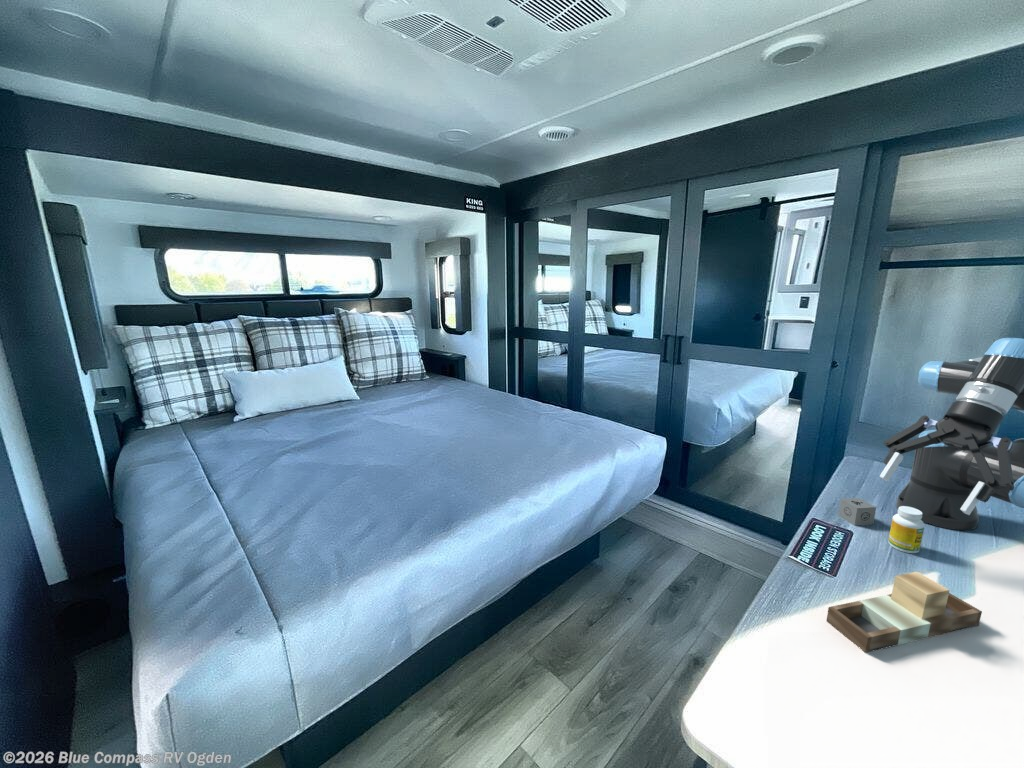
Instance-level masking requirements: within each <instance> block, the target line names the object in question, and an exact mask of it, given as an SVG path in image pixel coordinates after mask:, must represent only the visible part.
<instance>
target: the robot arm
mask: <svg viewBox="0 0 1024 768" xmlns="http://www.w3.org/2000/svg"><path fill="white" fill-rule="evenodd" d="M917 381H918V384H919V386H920V387H921V388H923V389H924V390H927V391H933V392H935V393H943V394H948V395H954V396H956V398H955V399H956V401H953V402H952V403H951V405H950V406H949V408H947V409H948V410H947V411H946V413H945V414H944V416H943V418H942V419H940V420H939V421H938V420H934V419H932V418H929V416H927V415H924V414H923V415H921V416H920V417H919V419H918V420H917V421H916V422H915V423H913V424H912V425H909V426H908V427H906V428H905V429H903V430H901V431H899V432H897V433H895V434H894V435H892V436H891V437H889V438H887V439H885V440H883V443H882V444H883V445H884V446H885V447H886V448H887V449H889V452H888V454H887V455H886V457H885V458H884V460H883V464H885V467H884V468H883V470H882V471H881V473H880V475H879V478H881V479H882V480H883V481H886V482H887V483H889V481H890V479H891V477H892V476H893V475H894V473H895V472H896V470H897V469H898V468H899V465H900V464H901V462H902V461H903V459H904V456H903V454H905V453H910V452H913V451H914V457H913V462H912V467H911V472H910V473H911V474H910V476H909V477H910V478H909V481H908V483H907V484H906V485H905V486H904V488H903V489H902V491H901V492H900V493H899V495H898V496H897V498H896V504H895V506H896V508H897V509H898V508H899V507H900V506H908V507H912V508H915V509H918V510H920V511H921V512H922V513H923V514H922V518H921V519H920V520H922V521H923V523H924V524H928V523H929V524H928V525H931V524H932V526H935V527H939V528H945V529H949V530H959V531H960V530H961V531H970V530H974V529H976V528H977V527H978V524H979V520H980V519H979V518H980V517H979V513H978V509H977V505H978V503H979V501H981V502H982V503H987V502H988V501H989V500H990V498H991V497H992V498H994V499H999V500H1000V501H1004V502H1007V503H1010V504H1012V505H1014V506H1016V507H1018V508H1022V509H1024V438H1023V437H1022V438H1018V439H1015V440H1013V441H1012V440H1011V438H1009V437H1006V436H1004V437H995V436H994V433H995V432H996V430H997V428H998V427H999V426H1000V424H1001V423H1002V421H1003V420H1004V415H1007V414H1008V412H1009V411H1010V409H1011V408H1013V409H1014V410H1016V411H1018V412H1020V413H1023V414H1024V338H1020V337H1019V338H1018V337H1003V338H998V339H997V340H995V341H994V342H993V343H992V344H991V346H989V348H988V349H987V350H986V352H985V353H984V354H983V356H980V357H975V358H971V359H966V360H961V361H960V360H959V361H956V362H949V361H945V360H941V361H940V360H938V361H937V360H930V361H927V362H926V363H925V364H923V366H921V368H920V370H919V371H918V378H917ZM933 427H935V429H932V428H933ZM927 429H931V430H927ZM917 435H918V437H917V438H914V437H916V436H917ZM912 438H914V439H912ZM910 439H911V440H910ZM991 443H992V444H993V445H992V444H991Z"/></svg>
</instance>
